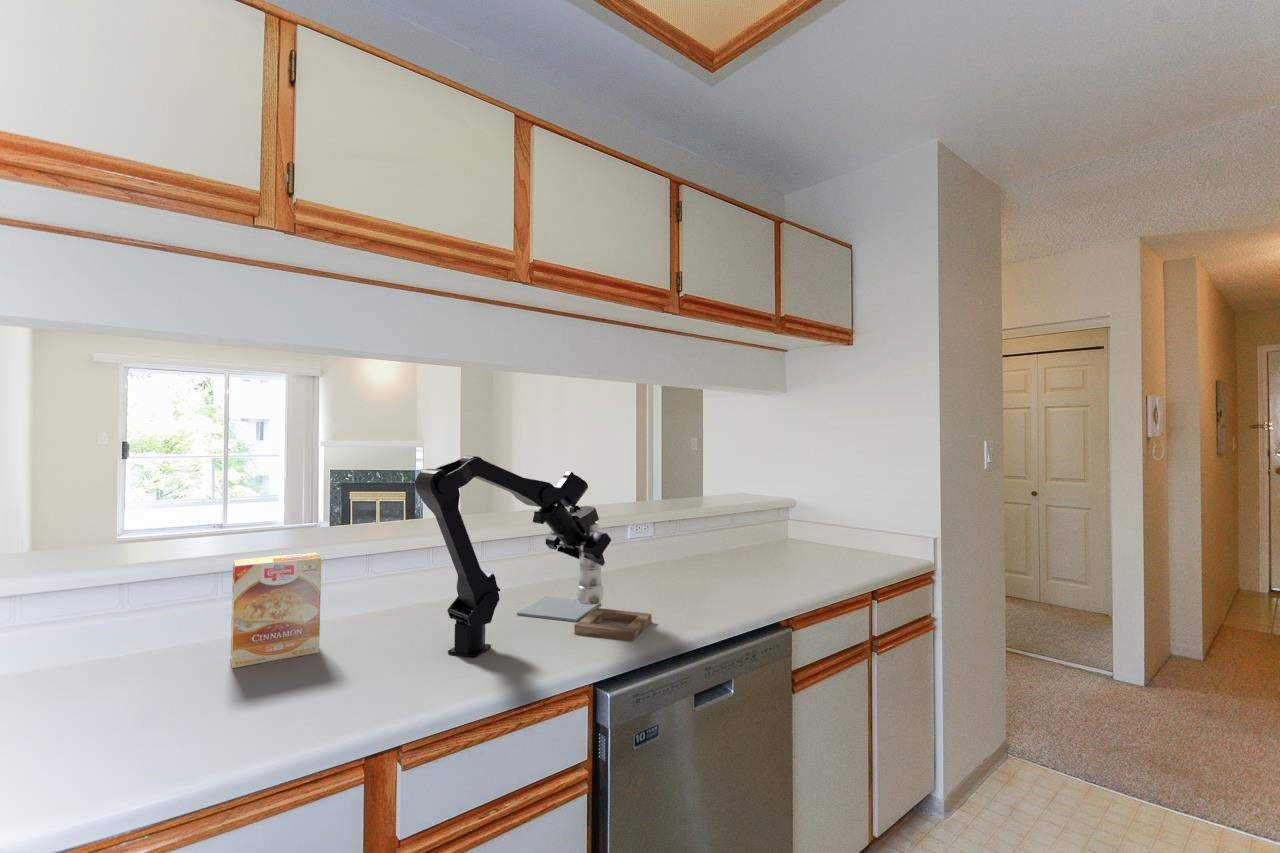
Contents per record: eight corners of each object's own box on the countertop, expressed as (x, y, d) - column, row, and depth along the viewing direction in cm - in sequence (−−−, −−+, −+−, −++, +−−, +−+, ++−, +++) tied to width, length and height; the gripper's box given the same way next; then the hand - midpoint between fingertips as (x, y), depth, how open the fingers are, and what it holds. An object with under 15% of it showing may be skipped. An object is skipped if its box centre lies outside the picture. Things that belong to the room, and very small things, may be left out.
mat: (576, 621, 145) (576, 619, 145) (516, 615, 150) (516, 612, 150) (600, 604, 160) (600, 601, 160) (546, 598, 165) (546, 596, 165)
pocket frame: (633, 640, 132) (633, 631, 132) (574, 633, 136) (574, 624, 136) (651, 622, 145) (651, 613, 145) (597, 616, 150) (597, 608, 150)
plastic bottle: (607, 602, 151) (609, 521, 151) (595, 609, 144) (596, 525, 145) (585, 599, 153) (586, 520, 154) (571, 605, 147) (573, 523, 147)
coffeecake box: (231, 669, 114) (233, 565, 114) (229, 657, 120) (231, 559, 120) (320, 653, 123) (322, 556, 123) (315, 643, 128) (316, 551, 129)
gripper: (606, 499, 140) (638, 541, 148) (555, 493, 153) (587, 532, 161) (579, 536, 134) (614, 579, 142) (529, 527, 147) (564, 566, 155)
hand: (594, 562), depth 150 cm, fingers closed on plastic bottle, 6 cm apart
